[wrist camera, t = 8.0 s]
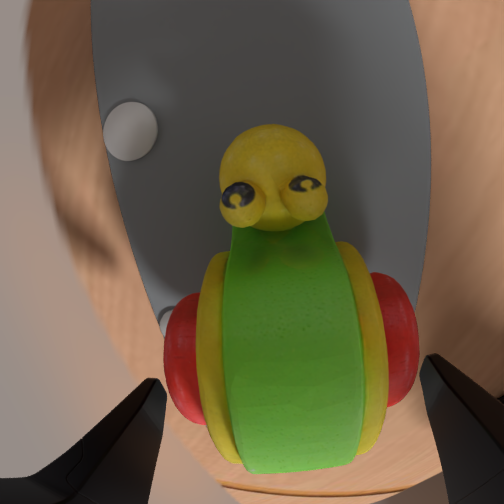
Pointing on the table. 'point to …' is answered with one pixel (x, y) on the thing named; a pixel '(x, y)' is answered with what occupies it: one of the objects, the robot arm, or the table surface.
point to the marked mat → (262, 123)
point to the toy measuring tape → (288, 322)
